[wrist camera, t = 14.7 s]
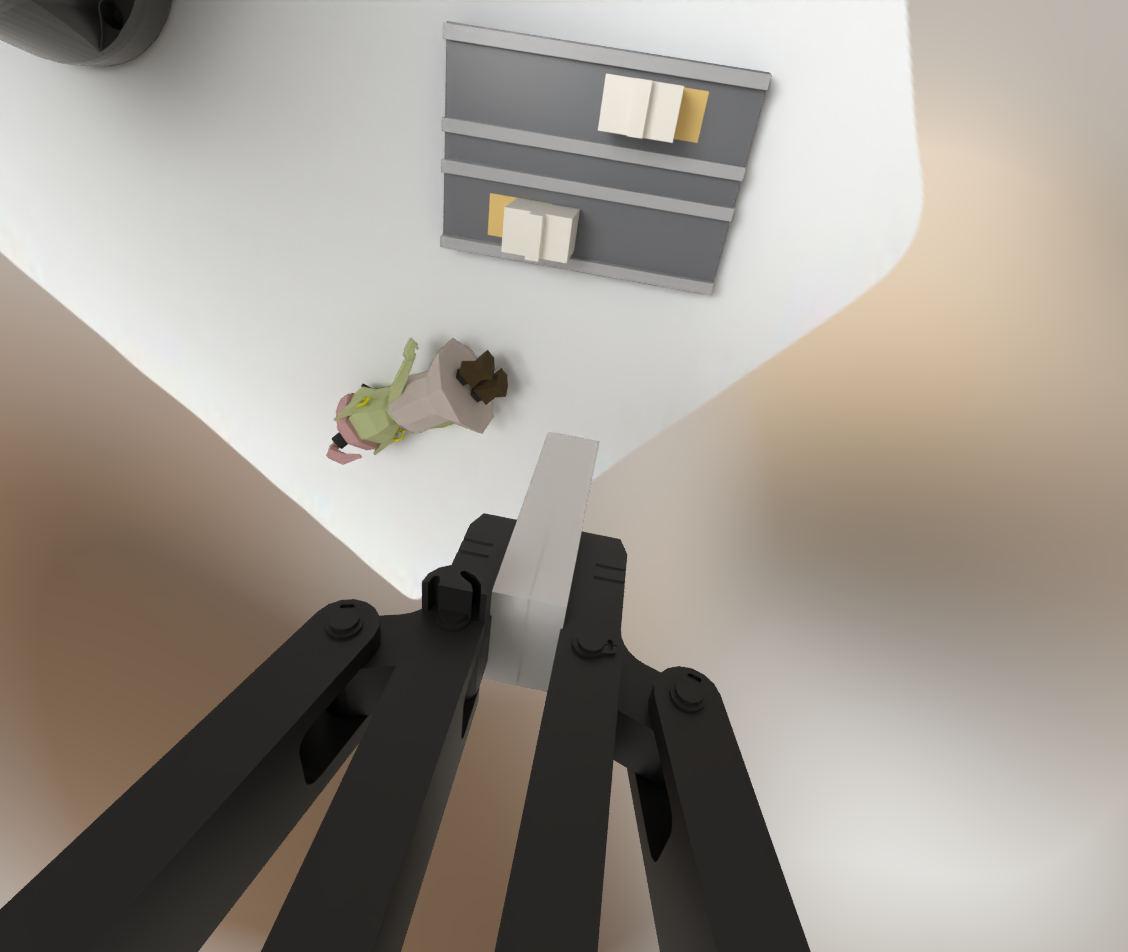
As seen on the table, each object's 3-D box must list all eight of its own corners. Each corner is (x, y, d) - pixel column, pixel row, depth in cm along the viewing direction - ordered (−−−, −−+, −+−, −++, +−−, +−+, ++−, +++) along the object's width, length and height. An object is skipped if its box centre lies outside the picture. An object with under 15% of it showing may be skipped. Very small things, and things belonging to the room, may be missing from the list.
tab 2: (603, 127, 34) (596, 131, 30) (611, 75, 32) (604, 73, 29) (671, 138, 33) (672, 143, 30) (682, 87, 32) (684, 85, 28)
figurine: (468, 298, 40) (310, 363, 46) (452, 372, 36) (279, 435, 42) (528, 380, 47) (382, 429, 52) (520, 452, 42) (362, 497, 48)
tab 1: (513, 239, 38) (498, 254, 34) (517, 198, 36) (501, 209, 33) (574, 250, 38) (564, 266, 34) (580, 209, 36) (570, 221, 33)
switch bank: (450, 242, 40) (440, 248, 38) (454, 24, 33) (443, 20, 32) (708, 287, 39) (710, 296, 37) (766, 73, 33) (772, 72, 31)
